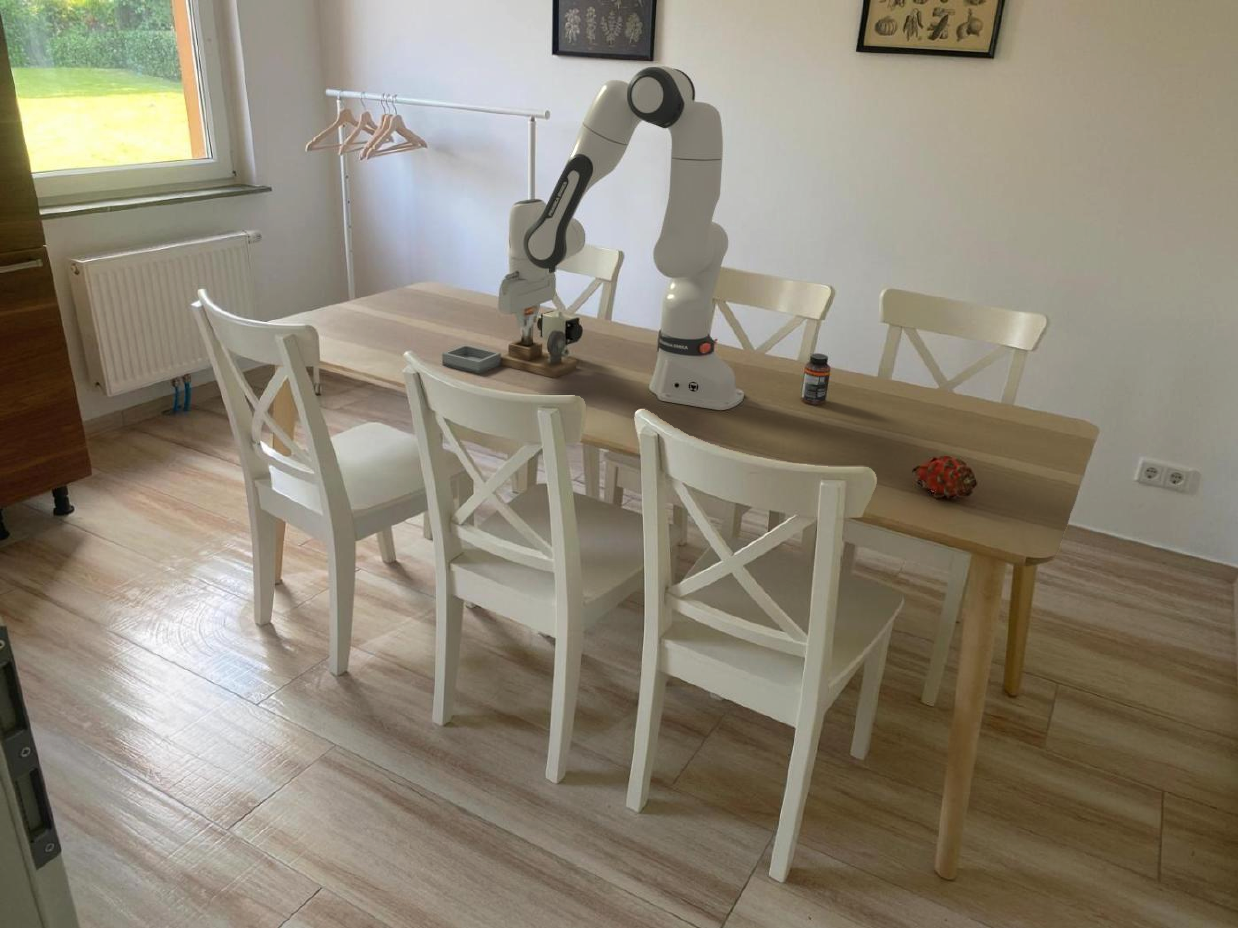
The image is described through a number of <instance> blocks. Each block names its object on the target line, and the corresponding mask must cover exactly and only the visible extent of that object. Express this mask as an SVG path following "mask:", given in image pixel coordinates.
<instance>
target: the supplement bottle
mask: <svg viewBox="0 0 1238 928" xmlns="http://www.w3.org/2000/svg"><path fill="white" fill-rule="evenodd" d="M828 359H829V356H828V355H826V354H823V353H812V354H811V355H810V358H809V362H806V364H805V366H804V372H803V378H802V384H801V392H800V400H801V401H802V402H803V403H804V404H808V405H812V406H813V405H814V406H820V405H823V404H825V403H826V400H827V395H828V387H829V381H830V375H831V367H830V365H829V364H828Z"/></svg>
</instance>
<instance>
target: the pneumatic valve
mask: <svg viewBox="0 0 1238 928" xmlns="http://www.w3.org/2000/svg"><path fill="white" fill-rule="evenodd" d="M538 317H539V318H537V322H536V327H537V329H538V331H539V334H540V336H539V337H540V338H542V339H544V340H545V339H546V340H548V338H549V336H550V334H551V332H553V331H554V330H557V331H561V332H563V333H564V334H565V337H566V343H565V347H564V350H563V352H562V357H566V358H569V355H570V349H569V345H572V344H575V343H578V342H579V340H580V339H581V338H582V336H583V332H584V331H583V326H582V325H581V324H580V323H581V322H580V318H579V316H578V317H577V316H573V315H572V314H567V313H563V311H561V310H558V311H555V310H551V311H545V312H543V313H542V312H541V313H540V315H539V316H538Z"/></svg>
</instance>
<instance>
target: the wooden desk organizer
mask: <svg viewBox="0 0 1238 928" xmlns="http://www.w3.org/2000/svg"><path fill="white" fill-rule="evenodd" d="M565 343H566V337H565V334H564V333H563V332H561V331H557V330H554V331H553V332H551V334H550V336H549V338H548V339H547V343H546V348H547V352H545V351H543V343H542V342H540V341H539V342H538V341H535V340H533V344H522V343H521V339H518V340H515V341H513V342H511V343H509V344H508V349H507V350H508V353H507V354H505V355H501V365H500V366H504V367H507V368H508V367H509V368H513V369H517V370H521V371H524V372H529V373H533V374H537V375H540V376H544V377H545V376H546V377H550V378H553V379H556V378H558V377H560V376H561V375H562V376H563V375H564V374H566V373H568V372H570V371H572V370H575V369H576V368H577V362H578V360H577V359H574V358H570V357H562V352H563V350H564V347H565Z"/></svg>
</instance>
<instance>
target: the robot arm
mask: <svg viewBox="0 0 1238 928" xmlns="http://www.w3.org/2000/svg"><path fill="white" fill-rule="evenodd" d="M695 100H696V90H695V85H694V83H693V81H692V79H691V78H690V76H689V75H688V74H687V73H686V72H684V71H682V70H680V69H678V68H677V69H676V68H672V67H669V66H664V65H663V66H662V65H661V66H660V65H659V66H648V67H645V68H643V69H641V70H639V71H638V72H637V73H635V75H634V76H633V77H632V78H631V79H630V82H629V83H628V82H626V81H624V80H617V79H615V80H614V79H612V80H608V81H606V82H605V83H604V84H603V85H602V86H601V88H600V89H599V90H598V92H597V94H596V95H595V97H594V98H593V100H592V102H591V104H590V106H589V108H588V110H587V112H586V113H585V117H584V119H583V121H582V124H581V126H580V128H579V131H578V134H577V136H576V139H575V142H574V144H573V146H572V150H571V151H570V154H569V156H568V159H567V161H566V163H565V166H564V168H563V170H562V171H561V174H560V177H559V179H558V180H557V182H556V184H555V187H554V189H553V191H552V193H551V195H550V197H549V199H548V201H547V203H546V202H545V201H544V200H543V199H539V198H534V199H533V198H531V199H525V200H521V201H520V200H518V201H517V202H515V203H514V204H513V205H512V206H511V209H510V213H509V222H508V223H509V225H508V238H509V243H510V250H509V253H508V274H505V275H504V277H503V279H502V280H501V283H500V284H499V289H498V297H497V298H498V301H497V309H498V312H499V313H501V314H504V315H514V316H515V318H516V321H517V322H516V324H517V327H519V328H521V327H525V326H526V325H527V324H526V322H527V319H524V315H523V314H524V313H525V309H528V308H531V307H534V324H535V323H537V321H538V314H539V311H540V309H541V305H542V304H544V303H547V302H550V301H553V300H554V298H555V296H556V289H557V287H556V286H557V285H556V284H557V276H556V272H557V269H558V268H557V266H558V265H559V264H561V263H562V262H564V261H566V260H569V259H570V258H572V257H574V256H576V255H577V254H579V253H580V252H581V251H582V250H583V249H584V246H585V243H586V233H585V232H586V231H585V229H584V227H583V225H582V223H581V222H580V221H579V220H577V219H576V218H575V217H574V216H575V214H576V213H577V210H578V208H579V206H580V203H581V201H582V200H583V198H584V196H585V195H586V194H587V192H588V191H589V190H590V189H591V188H592V187H593V186H594V185H596V183H598V182H599V181H600V180H602V179H603V178H605V177H607V176H608V175H609V174H610V173H612V172H613V171H614V170H616V167H617V166H618V164H619V163H620V162H621V160H622V159H623V156H624V154H625V153H626V152H627V151H626V150H627V149H628V146H629V144H630V142H631V139H632V136H633V134H634V132H635V130H636V128H637V127H638V125H640V124H641V122H642V121H644V122H645V123H648V124H651V125H653V126H654V125H655V126H656V127H659V128H662V129H668V131H669V133H670V136H671V149H670V150H671V151H670V152H671V154H670V155H671V156H670V172H669V177H670V178H669V192H668V193H669V194H668V198H667V199H668V201H667V204H666V209H665V213H664V216H663V217H664V218H663V222H662V227H661V230H660V231H661V232H660V234H659V237H658V239H657V241H656V243H655V245H654V248H653V254H652V255H653V263H654V265H655V267H656V269H657V270H658V271H659V273H660V274H661V275H663V276H665V277H667V278H670V280H669V281H670V282H669V285H668V288H667V290H666V292H665V294H664V296H663V299H662V300H663V301H662V313H661V324H660V329H659V331H658V336H657V337H658V338H657V342H656V343H657V348H656V350H657V351H656V352H657V358H656V359H657V360H656V364H655V367H654V372H653V375H652V377H651V380H650V384H649V386H648V388H649V390H650V392H651V393H653V394H654V395H656V396H657V398H658V400H659V401H662V402H666V403H667V402H668V403H674V404H681V405H686V406H692V407H697V408H698V407H699V408H703V409H711V410H716V411H723V410H729V409H732V408H734V407H737V406H738V405H740V404H741V402H742V401H743V400H744V397H745V394H744V391H743V390H742V389H739V388H737V387H736V377H735V373H734V370H733V369H732V368H731V367H730V366H729V365H728V364H727V363H726V362H725V361H724V360H723V359H722V358H721V357H720V356H719V355H718V354H717V353H716V351H715V345H716V344H718V338H715V339H713V338H712V337H711V335H710V334H709V328H710V321H711V320H710V319H711V310H712V303H713V298H714V293H715V290H716V286H717V283H718V279H719V277H720V272H721V268H722V264H723V261H724V257H725V256H726V254H727V252H728V248H729V237H728V234H727V232H726V230H725V229H724V228H723V226H721V225H720V224H718V223H717V222H713V217H714V213H715V210H716V208H717V207H716V206H717V204H718V202H719V200H720V197H721V185H722V172H723V171H722V170H723V169H722V168H723V149H724V148H723V147H724V146H723V145H724V142H723V140H724V139H723V127H722V118H721V114H720V112H719V111H718V109H717V108H716V107H715V106H713V105H711V104H710V103H708V102H707V103H706V102H703V101H695Z"/></svg>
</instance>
